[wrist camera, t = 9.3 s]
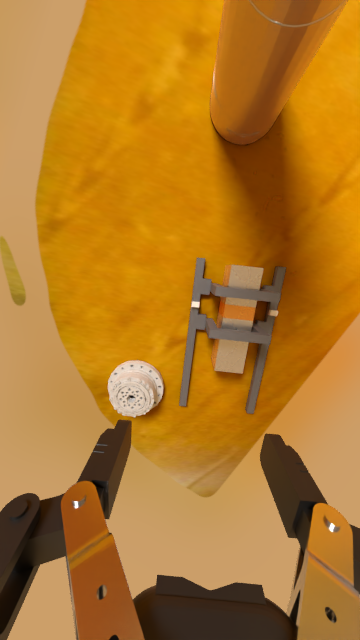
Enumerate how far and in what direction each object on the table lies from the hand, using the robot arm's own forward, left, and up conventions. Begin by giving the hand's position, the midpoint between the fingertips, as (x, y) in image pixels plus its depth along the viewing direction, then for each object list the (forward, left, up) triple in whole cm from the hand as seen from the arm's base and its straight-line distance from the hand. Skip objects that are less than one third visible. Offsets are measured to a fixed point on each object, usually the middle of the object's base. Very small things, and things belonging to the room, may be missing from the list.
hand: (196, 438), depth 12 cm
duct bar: (-3, +7, -23) cm, 24 cm away
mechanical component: (+12, -8, -24) cm, 28 cm away
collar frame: (+1, +7, -23) cm, 24 cm away
